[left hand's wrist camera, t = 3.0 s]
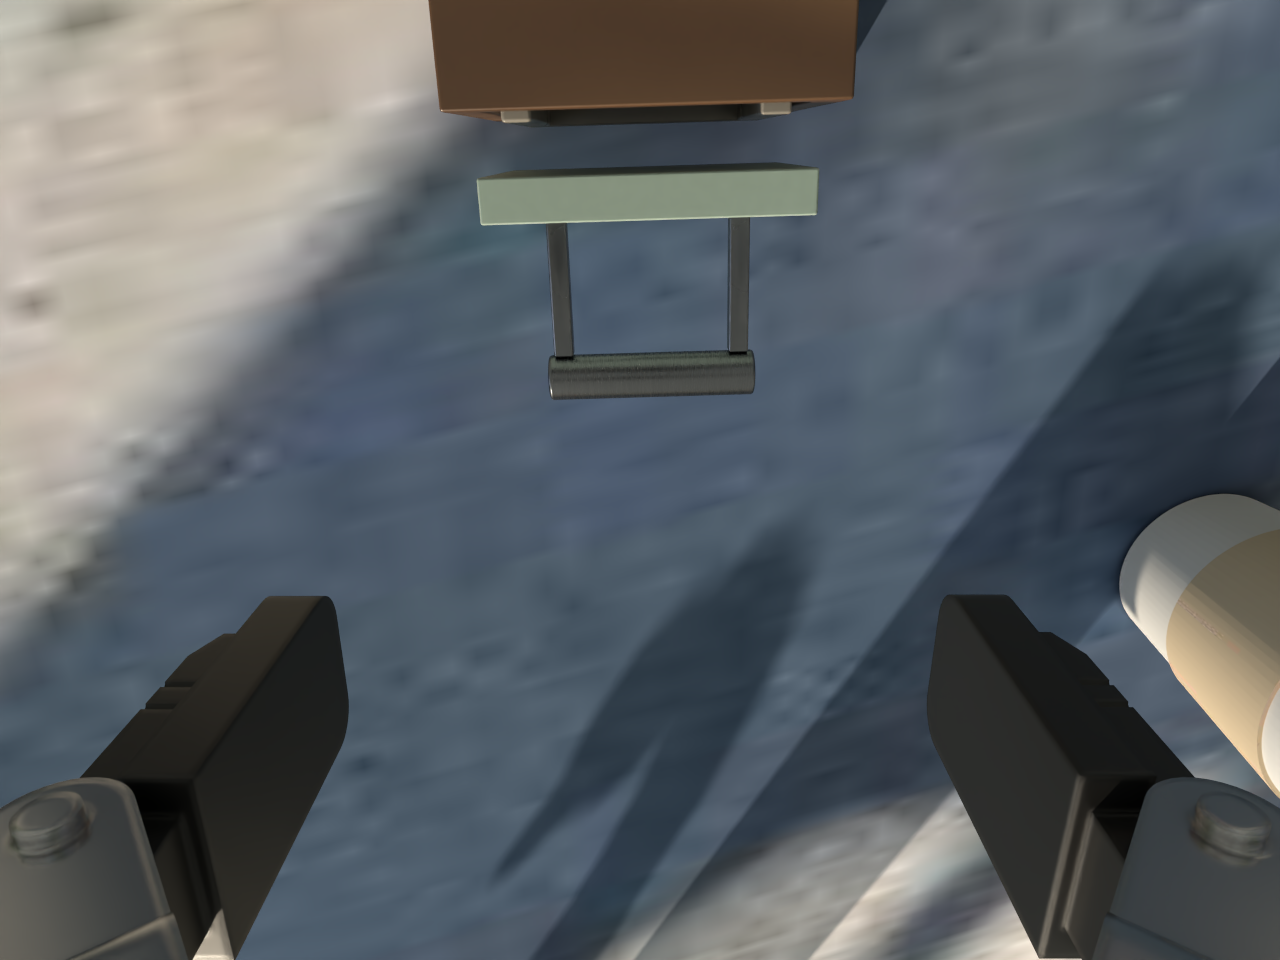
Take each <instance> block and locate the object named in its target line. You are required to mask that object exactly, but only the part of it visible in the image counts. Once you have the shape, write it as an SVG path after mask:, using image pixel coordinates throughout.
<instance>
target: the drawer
mask: <svg viewBox="0 0 1280 960" xmlns="http://www.w3.org/2000/svg"><path fill="white" fill-rule="evenodd" d="M791 111H792V102H785V103H754V104H722V105H690V106H659V107H627V108H595V109H564V110H532V111H501V120H502V122H504V123H509V124H515V125H521V126H527V127H561V126H592V125H624V124H656V123H688V122H719V121H751V120H760V119H765V118H770V117H775V116H781V115H786V114H790V113H791ZM818 186H819V168H816V167H808V166H800V165H793V164H785V163H777V162H772V163H740V164H708V165H676V166H644V167H612V168H580V169H548V170H516V171H510V172H505V173H500V174H496V175H491V176H487V177H482V178H478V179H477V188H478V199H479V210H480V220H481V224H482V225H506V224H538V223H546V233H547V248H548V263H549V279H550V294H551V309H552V324H553V339H554V354H555V355H552V356H550V358H549V364H548V379H549V391H550V396H551V398H552V399H553V400H566V399H600V398H634V397H668V396H701V395H735V394H752V393H753V391H754V387H755V359H754V354H753V351H752V350H748V307H749V245H750V217H765V216H797V215H816V214H817V209H818ZM700 218H728V317H727V348H728V350H716V351H683V352H650V353H616V354H583V355H574V334H573V317H572V300H571V282H570V265H569V247H568V230H567V223H570V222H603V221H635V220H668V219H700Z"/></svg>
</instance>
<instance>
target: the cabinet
mask: <svg viewBox="0 0 1280 960" xmlns="http://www.w3.org/2000/svg"><path fill="white" fill-rule="evenodd" d="M428 1H429V11H430V20H431V30H432V40H433V49H434V59H435V68H436V78H437V88H438V97H439V107H440V111H441V112H445V113H452V114H458V115H464V116H470V117H476V118H482V119H488V120H493V121H502V120H501V111H532V110H564V109H595V108H627V107H659V106H690V105H722V104H754V103H785V102H792V111H797V110H802V109H807V108H812V107H817V106H822V105H826V104H831V103H836V102H841V101H845V100H850V99H852V98H853V97H854V84H855V66H856V47H857V29H858V11H859V0H428ZM792 111H791V112H792Z"/></svg>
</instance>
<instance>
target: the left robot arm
mask: <svg viewBox="0 0 1280 960" xmlns="http://www.w3.org/2000/svg"><path fill="white" fill-rule="evenodd" d="M348 713H349V700H348V691H347V684H346V677H345V670H344V664H343V657H342V650H341V643H340V636H339V629H338V622H337V615H336V610H335V607H334V604H333V602H332V600H331V599H330V598H329V597H327V596H269V597H267V598H265V599H264V600H263V602H262V603H261V604H260V605H259V606H258V608H257V609H256V610H255V611H254V612H253V614H252V615H251V616H250V617H249V618H248V620H247V621H246V622H245V623H244V624H243V626H242V627H241V628H240V629H239V630H238V632H237V633H236V634H223V635H221V636H220V637H218V638H216V639H215V640H213V641H211V642H210V643H208V644H207V645H205V646H203V647H202V648H200V649H199V650H197V651H195V652H194V653H192V654H190V655H189V656H188V657H187V658H186V659H185V660H184V661H183V662H182V663H181V665H180V666H179V667H178V668H177V669H176V670H175V671H174V672H173V674H172V675H171V676H170V677H169V678H168V679H167V680H166V681H165V687H160V688H159V689H158V690H157V692H156V693H155V694H154V695H153V696H152V697H151V698H150V699H149V701H148V702H147V703H146V708H145V709H141V710H140V711H139V712H138V713H137V714H136V715H135V716H134V717H133V719H132V720H131V721H130V722H129V723H128V724H127V725H126V726H125V728H124V729H123V730H122V731H121V732H120V733H119V734H118V735H117V737H116V738H115V739H114V740H113V741H112V742H111V743H110V744H109V746H108V747H107V748H106V749H105V750H104V751H103V752H102V753H101V755H100V756H99V757H98V758H97V759H96V760H95V761H94V762H93V764H92V765H91V766H90V767H89V768H88V769H87V770H86V771H85V773H84V774H83V775H82V776H81V777H80V778H79V779H72V780H67V781H63V782H58V783H55V784H52V785H48V786H45V787H42V788H40V789H37V790H35V791H32V792H30V793H28V794H26V795H23V796H21V797H19V798H17V799H15V800H14V801H12V802H10V803H8V804H7V805H5V806H3V807H2V808H0V960H235V959H236V957H237V955H238V953H239V951H240V949H241V947H242V945H243V943H244V941H245V939H246V937H247V935H248V933H249V931H250V929H251V927H252V925H253V923H254V921H255V919H256V917H257V915H258V913H259V911H260V909H261V907H262V905H263V903H264V901H265V899H266V897H267V895H268V893H269V891H270V889H271V887H272V885H273V883H274V881H275V879H276V877H277V875H278V873H279V871H280V869H281V867H282V865H283V863H284V861H285V859H286V857H287V855H288V853H289V851H290V849H291V847H292V845H293V843H294V841H295V839H296V837H297V835H298V833H299V831H300V829H301V827H302V825H303V823H304V821H305V819H306V817H307V815H308V813H309V811H310V809H311V807H312V805H313V803H314V801H315V799H316V797H317V795H318V793H319V791H320V789H321V787H322V785H323V783H324V781H325V779H326V777H327V775H328V773H329V771H330V769H331V767H332V765H333V763H334V761H335V759H336V757H337V755H338V753H339V751H340V749H341V746H342V744H343V741H344V738H345V734H346V729H347V723H348ZM927 716H928V724H929V730H930V734H931V738H932V741H933V743H934V746H935V748H936V750H937V752H938V754H939V756H940V758H941V760H942V762H943V764H944V766H945V768H946V770H947V772H948V774H949V776H950V778H951V780H952V782H953V784H954V786H955V788H956V790H957V792H958V795H959V797H960V799H961V801H962V803H963V805H964V807H965V809H966V811H967V813H968V815H969V817H970V819H971V821H972V823H973V825H974V827H975V829H976V831H977V833H978V835H979V837H980V839H981V841H982V843H983V845H984V847H985V849H986V851H987V853H988V855H989V858H990V860H991V862H992V864H993V866H994V868H995V870H996V872H997V874H998V876H999V878H1000V880H1001V882H1002V884H1003V886H1004V888H1005V890H1006V892H1007V894H1008V896H1009V898H1010V900H1011V902H1012V904H1013V906H1014V908H1015V910H1016V912H1017V914H1018V916H1019V918H1020V921H1021V923H1022V925H1023V927H1024V929H1025V931H1026V933H1027V935H1028V937H1029V939H1030V941H1031V943H1032V945H1033V947H1034V949H1035V951H1036V953H1037V955H1038V957H1039V958H1081V959H1082V960H1280V808H1278V807H1277V806H1275V805H1273V804H1272V803H1270V802H1268V801H1266V800H1265V799H1263V798H1261V797H1259V796H1257V795H1254V794H1252V793H1250V792H1248V791H1245V790H1243V789H1240V788H1238V787H1235V786H1232V785H1228V784H1225V783H1222V782H1217V781H1213V780H1208V779H1201V778H1195V777H1194V776H1193V775H1192V774H1191V773H1190V771H1189V770H1188V769H1187V768H1186V767H1185V766H1184V765H1183V764H1182V762H1181V761H1180V760H1179V759H1178V758H1177V757H1176V756H1175V754H1174V753H1173V752H1172V751H1171V750H1170V749H1169V748H1168V746H1167V745H1166V744H1165V743H1164V742H1163V741H1162V740H1161V739H1160V737H1159V736H1158V735H1157V734H1156V733H1155V732H1154V731H1153V729H1152V728H1151V727H1150V726H1149V725H1148V724H1147V723H1146V721H1145V720H1144V719H1143V718H1142V717H1141V716H1140V715H1139V714H1138V712H1137V711H1136V710H1135V709H1134V708H1133V707H1129V706H1128V701H1127V700H1126V699H1125V698H1124V696H1123V695H1122V694H1121V693H1120V692H1119V691H1118V690H1117V689H1116V687H1115V686H1114V685H1109V679H1108V678H1107V677H1106V676H1105V675H1104V674H1103V673H1102V671H1101V670H1100V669H1099V668H1098V667H1097V666H1096V665H1095V664H1094V662H1093V661H1092V660H1091V659H1090V658H1089V657H1088V656H1087V654H1085V653H1083V652H1082V651H1080V650H1079V649H1077V648H1075V647H1074V646H1072V645H1071V644H1069V643H1067V642H1066V641H1064V640H1063V639H1061V638H1059V637H1058V636H1056V635H1054V634H1053V633H1051V632H1038V631H1037V629H1036V628H1035V627H1034V626H1033V625H1032V623H1031V622H1030V621H1029V620H1028V618H1027V617H1026V616H1025V615H1024V614H1023V612H1022V611H1021V610H1020V609H1019V607H1018V606H1017V605H1016V604H1015V603H1014V601H1013V600H1012V599H1011V598H1010V597H1009V596H1007V595H947V596H946V597H945V598H944V599H943V601H942V603H941V607H940V611H939V616H938V623H937V630H936V638H935V645H934V652H933V659H932V666H931V673H930V680H929V687H928V695H927Z"/></svg>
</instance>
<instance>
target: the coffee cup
mask: <svg viewBox="0 0 1280 960" xmlns="http://www.w3.org/2000/svg"><path fill="white" fill-rule="evenodd" d="M1119 589H1120V597H1121V601H1122V604H1123V606H1124V609H1125V610H1126V612H1127V614H1128V615H1129V617H1130V618H1131V619H1132V620H1133V621H1134V623H1135V624H1136V625H1137V626H1138V627H1139V628H1140V630H1141V631H1142V632H1143V633H1144V634H1145V635H1146V637H1147V638H1148V639H1149V640H1150V641H1151V642H1152V644H1153V645H1154V646H1155V647H1156V648H1157V649H1158V651H1159V652H1160V653H1161V654H1162V655H1163V656H1164V658H1165V659H1166V660H1167V661H1168V662H1169V663H1170V666H1171V668H1172V670H1173V672H1174V674H1175V676H1176V677H1177V679H1178V680H1179V681H1180V682H1181V683H1182V685H1183V686H1184V687H1185V688H1186V689H1187V691H1188V692H1189V693H1190V694H1191V695H1192V696H1193V698H1194V699H1195V700H1196V701H1197V702H1198V704H1199V705H1200V706H1201V707H1202V708H1203V709H1204V711H1205V712H1206V713H1207V714H1208V715H1209V716H1210V718H1211V719H1212V720H1213V721H1214V722H1215V724H1216V725H1217V726H1218V727H1219V728H1220V729H1221V731H1222V732H1223V733H1224V734H1225V735H1226V737H1227V738H1228V739H1229V740H1230V741H1231V742H1232V744H1233V745H1234V746H1235V747H1236V748H1237V749H1238V751H1239V752H1240V753H1241V754H1242V755H1243V757H1244V758H1245V759H1246V760H1247V761H1248V762H1249V764H1250V765H1251V766H1252V767H1253V768H1254V769H1255V771H1256V772H1257V773H1258V774H1259V775H1260V777H1261V778H1262V779H1263V780H1264V781H1265V782H1266V784H1267V785H1268V786H1269V787H1270V788H1271V790H1272V791H1273V792H1274V793H1275V794H1276V795H1277V796H1278V797H1279V798H1280V511H1279V510H1277V509H1274V508H1272V507H1270V506H1268V505H1266V504H1263V503H1261V502H1259V501H1257V500H1254V499H1252V498H1249V497H1246V496H1241V495H1235V494H1215V495H1208V496H1203V497H1199V498H1195V499H1192V500H1189V501H1187V502H1184V503H1182V504H1180V505H1178V506H1176V507H1174V508H1172V509H1170V510H1168V511H1167V512H1165V513H1164V514H1162V515H1161V516H1160V517H1158V518H1157V519H1156V520H1154V521H1153V522H1152V523H1151V524H1150V525H1149V526H1148V527H1147V528H1146V529H1145V530H1144V531H1143V532H1142V533H1141V534H1140V535H1139V536H1138V538H1137V539H1136V540H1135V542H1134V543H1133V545H1132V546H1131V548H1130V550H1129V551H1128V553H1127V555H1126V558H1125V560H1124V563H1123V566H1122V569H1121V574H1120V582H1119Z"/></svg>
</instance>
